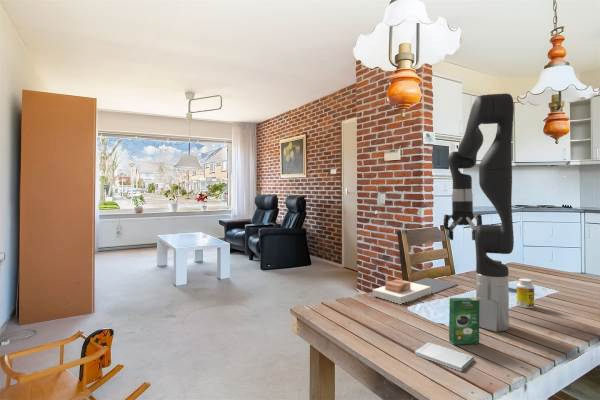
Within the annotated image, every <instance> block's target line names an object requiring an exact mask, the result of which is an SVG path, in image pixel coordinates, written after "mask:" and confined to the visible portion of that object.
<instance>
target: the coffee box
mask: <svg viewBox="0 0 600 400" xmlns="http://www.w3.org/2000/svg"><path fill="white" fill-rule="evenodd" d="M479 305H480V301H479V300H478V299H476V297H449V315H448V316H449V318H448V320H449V323H448V328H449V329H448V330H449V331H448V336H449V337H448V341H449V343H451V344H452V345H454V346H455V345H456V346H458V345H459V346H460V345H476V344H480V327H479V307H480V306H479Z"/></svg>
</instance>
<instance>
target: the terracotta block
mask: <svg viewBox="0 0 600 400" xmlns="http://www.w3.org/2000/svg"><path fill="white" fill-rule="evenodd" d="M406 281H407V280H401V279H393V280H389V281H386V282H384V286H385V290H389V291H393V292H396V293H401V292H404V291H407V290H410V282H411V281H408V282H406Z"/></svg>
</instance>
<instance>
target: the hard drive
mask: <svg viewBox="0 0 600 400" xmlns="http://www.w3.org/2000/svg"><path fill="white" fill-rule="evenodd" d="M414 355H415V356H418V357H419V358H423V359H426V360H429V361H430V360H431V362H433V361H434V362H433V363H436V362H437V363H436V364H439V363H440V364H439V365H441V364H442V366H444V365H445V366H444V367H447V366H448V368H449V367H450V369H452V368H453V369H452V370H455V369H456V371H458V370H459V371H458V372H460V371H462V370H463V369H464V368H465V369H467V367H468V366H469V365H471V362H472V361H473V360H474V361H475V358H474V356H472V355H469V354H466V353H462V352H459V351H457V350H455V349H451V348H448V347H444V346H443V345H438V344H435V343H432V342H426V343H425V344H423V345H422V346H420V347H419V348H417V349H416V350H415V351H414ZM474 361H473V362H474ZM473 362H472V363H473ZM465 369H464V370H465ZM464 370H463V371H464ZM463 371H462V372H463Z"/></svg>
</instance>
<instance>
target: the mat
mask: <svg viewBox="0 0 600 400" xmlns="http://www.w3.org/2000/svg"><path fill="white" fill-rule="evenodd" d="M412 283H416V284H421V285H425V286H430V287H431V294H430V295H435V294H437V292H438V293H440V292H443V291H445V290H448V289H451V288H454V287H457V286H459V283H457V282H456V283H455V282H450V281H446V280H442V279H441V280H440V279H435V278H431V277H425V278H422V279H419V280H415V281H412ZM434 293H435V294H434Z"/></svg>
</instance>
